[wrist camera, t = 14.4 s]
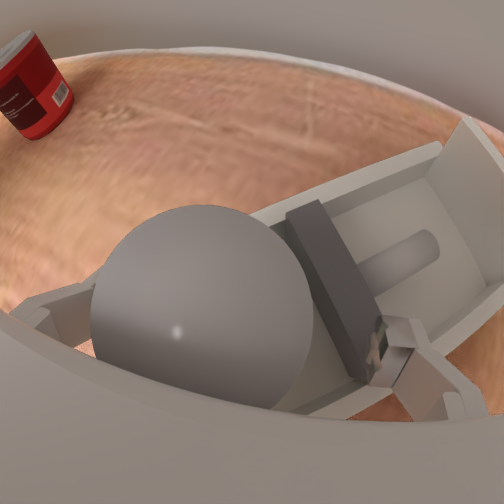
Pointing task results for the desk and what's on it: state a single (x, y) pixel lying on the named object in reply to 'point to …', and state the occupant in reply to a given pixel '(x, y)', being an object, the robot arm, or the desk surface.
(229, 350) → the jar
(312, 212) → the pusher
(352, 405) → the tray
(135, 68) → the desk surface
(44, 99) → the canned food
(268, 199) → the desk surface
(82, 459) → the robot arm
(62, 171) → the desk surface
